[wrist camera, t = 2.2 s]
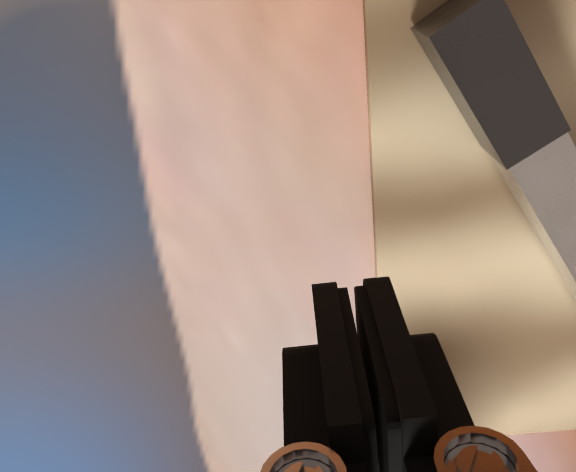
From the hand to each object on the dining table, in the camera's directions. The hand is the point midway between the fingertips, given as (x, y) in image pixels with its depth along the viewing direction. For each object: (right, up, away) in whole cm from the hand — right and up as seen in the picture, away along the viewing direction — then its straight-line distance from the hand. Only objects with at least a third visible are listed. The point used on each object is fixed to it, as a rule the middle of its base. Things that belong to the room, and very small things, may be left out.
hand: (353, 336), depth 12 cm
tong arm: (+11, +2, +10) cm, 15 cm away
